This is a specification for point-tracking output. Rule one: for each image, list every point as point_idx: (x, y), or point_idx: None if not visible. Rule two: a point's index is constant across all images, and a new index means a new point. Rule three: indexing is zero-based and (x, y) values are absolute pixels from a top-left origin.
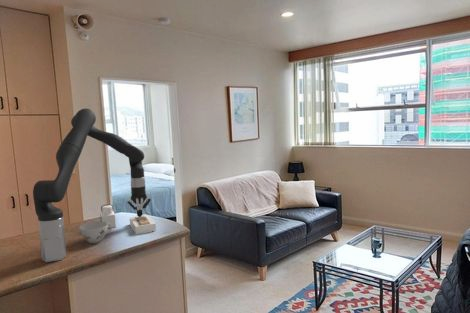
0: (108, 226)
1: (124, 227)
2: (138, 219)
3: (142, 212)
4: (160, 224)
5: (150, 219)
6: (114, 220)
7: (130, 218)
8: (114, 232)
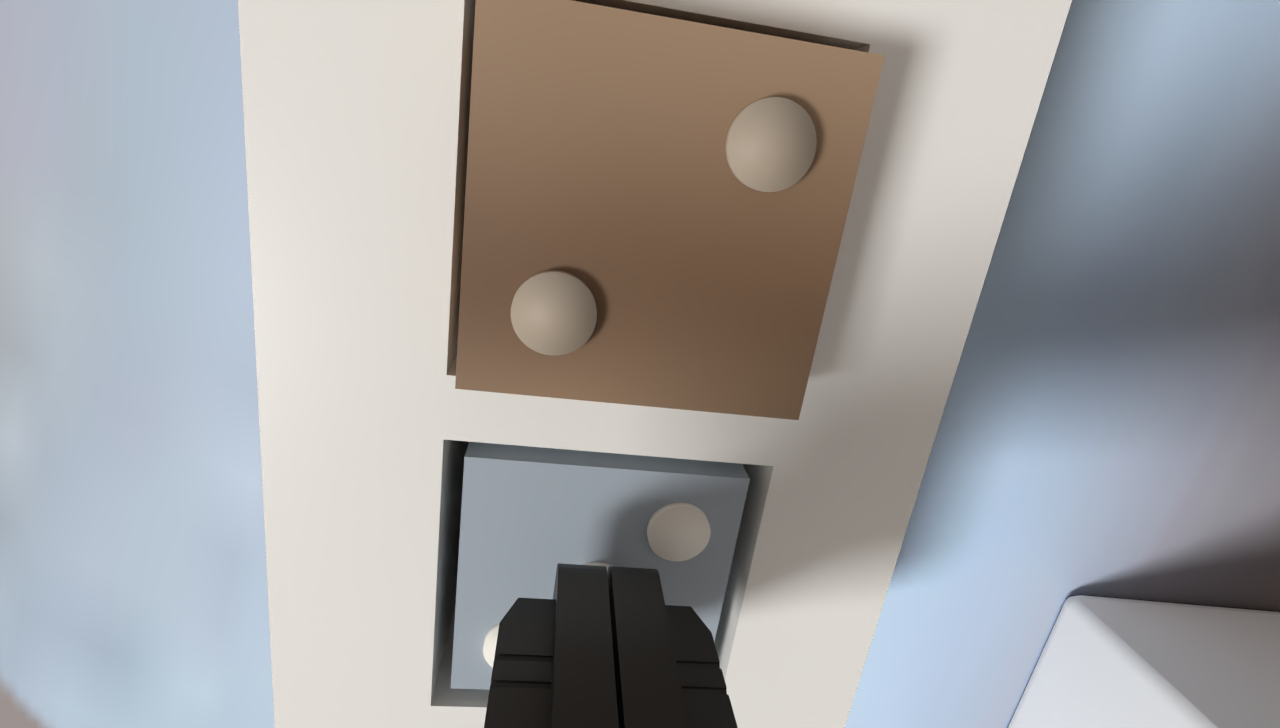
0: (1224, 628)
1: (947, 483)
2: (855, 133)
3: (491, 687)
4: (57, 143)
5: (304, 107)
6: (1220, 714)
7: (860, 655)
8: (1266, 271)
